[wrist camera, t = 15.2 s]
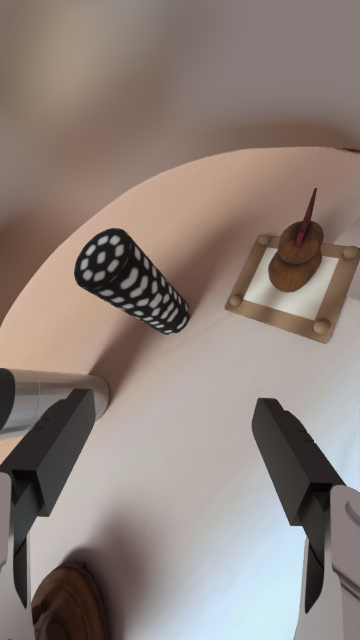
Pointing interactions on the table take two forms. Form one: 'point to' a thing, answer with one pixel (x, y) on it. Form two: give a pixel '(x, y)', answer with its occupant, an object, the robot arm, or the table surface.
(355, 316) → the table surface
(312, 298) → the base plate
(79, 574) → the scroll
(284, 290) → the wooden figurine
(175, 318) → the spotted tube
